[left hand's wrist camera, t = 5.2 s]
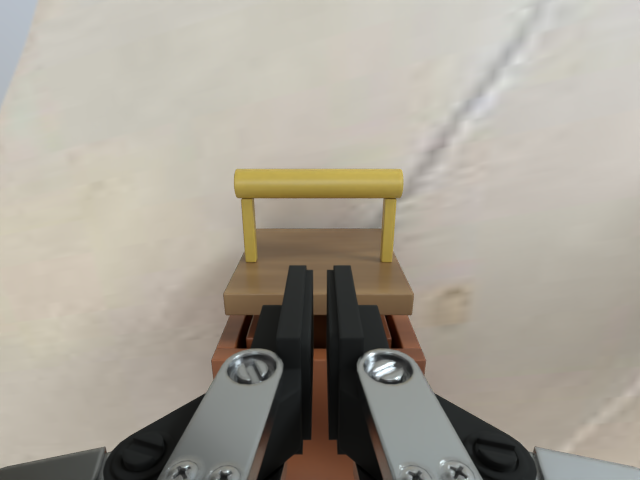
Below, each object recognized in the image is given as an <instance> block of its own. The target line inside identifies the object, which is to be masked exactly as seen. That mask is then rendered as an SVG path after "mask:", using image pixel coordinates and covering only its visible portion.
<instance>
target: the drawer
mask: <svg viewBox="0 0 640 480" xmlns="http://www.w3.org/2000/svg"><path fill="white" fill-rule="evenodd" d="M234 189H235V194H236V197H237V198H242V199H241V205H242V219H243V233H244V247H245V252H244V254H243V256H242V258H241V260H240V262H239V264H238V266H237V268H236V270H235V272H234V274H233V276H232V278H231V280H230V282H229V284H228V286H227V288H226V290H225V292H224V294H223V297H224V307H225V314H226V315H253V318H252V321H251V324H250V327H249V331H248V334H247V337H246V345H247V349H250V348H251V344H252V341H253V337H254V334H255V330H256V327H257V323H258V319H259V316H260V312H261V309H262V306H263V305H282V302H283V296H284V291H285V286H286V280H287V275H288V270H289V265H306V266H307V270H313V319H314V349H326V321H327V270H333V266H334V265H351V270H352V275H353V280H354V286H355V291H356V296H357V302H358V305H377V306H378V309H379V312H380V316H381V319H382V323H383V327H384V330H385V334H386V337H387V341H388V344H389V348H390V349H391V335H390V332H389V329H388V325H387V322H386V319H385V315H412V309H413V298H414V293H413V291H412V289H411V287H410V285H409V283H408V281H407V279H406V277H405V275H404V273H403V271H402V269H401V267H400V265H399V262H398V260H397V258H396V256H395V254H394V252H393V241H394V227H395V213H396V198H400V197H401V195H402V192H403V173H402V170H401V169H236V171H235V175H234ZM254 198H384V199H383V216H382V229H256V225H255V208H254Z"/></svg>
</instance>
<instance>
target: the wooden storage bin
mask: <svg viewBox="0 0 640 480" xmlns="http://www.w3.org/2000/svg"><path fill="white" fill-rule="evenodd" d="M252 318H253V315H230V317H229V319H228V321H227V324H226V326H225V328H224V331H223V333H222V336H221V338H220V340H219V343H218V345H217V348H216V350H215V353H214V355H213V357H212V360H211V363H212V371H213V380H214V378H215V377H216V375H217V373H218V371H219V369H220V368H221V366H222V364H223V363H224V362H225V361H226V359H228V358H229V357H230V356H232V355H233V354H235V353H238V352H240V351H243V350H247V345H246V337H247V334H248V331H249V327H250V324H251V321H252ZM385 319H386V322H387V325H388V329H389V332H390V335H391V349H393V350H397V351H400V352H402V353H405V354H407V355H408V356H410V357H411V358H412V359H414V361H415V362H416V363H417V364H418V366H419V368H420V369H421V371H422V373H423V375H424V373H425V365H426V359H425V357H424V354H423V352H422V349H421V347H420V345H419V342H418V340H417V337H416V335H415V332H414V330H413V328H412V325H411V323H410V320H409V318H408V315H385ZM285 480H355V479H354V475H353V460H352V459H351V458H349V457H348V456H347V455H337V440H329V435H328V396H327V356H326V349H314V357H313V396H312V436H311V440H303V455H293V456H292V457H291V458H289V459H288V460H287V475H286V479H285Z"/></svg>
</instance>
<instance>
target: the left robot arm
mask: <svg viewBox="0 0 640 480" xmlns="http://www.w3.org/2000/svg"><path fill="white" fill-rule="evenodd" d="M326 356H327V396H328V435H329V440H337V455H347V456H348V457H349V458H351V459H352V460H353V475H354V479H355V480H640V469H639V468H636V467H633V466H628V465H623V464H618V463H613V462H608V461H603V460H598V459H593V458H588V457H583V456H578V455H574V454H569V453H564V452H559V451H554V450H549V449H544V448H539V447H534V451H533V453H532V452H528V451H527V450H526V449H525V448H524V447H523V445H522V444H521V443H520V442H518V441H517V440H515V439H514V438H512V437H511V436H509V435H508V434H506V433H504V432H502V431H501V430H499V429H497V428H495V427H493V426H492V425H490V424H488V423H486V422H485V421H483V420H481V419H479V418H477V417H476V416H474V415H472V414H470V413H469V412H467V411H465V410H463V409H461V408H460V407H458V406H456V405H454V404H453V403H451V402H449V401H447V400H445V399H444V398H442V397H440V396H438V395H437V394H435V393H434V392H433V391H432V389H431V387H430V385H429V384H428V382H427V380H426V378H425V377H424V375H423V373H422V371H421V369H420V368H419V366H418V364H417V363H416V362H415V361H414V359H412V358H411V357H410V356H408V355H407V354H405V353H402V352H400V351H397V350H393V349H390V348H389V344H388V341H387V337H386V334H385V330H384V327H383V323H382V319H381V316H380V312H379V309H378V306H377V305H358V302H357V296H356V291H355V286H354V280H353V275H352V270H351V265H334V266H333V270H327V321H326ZM313 357H314V319H313V270H307V266H306V265H289V270H288V275H287V280H286V286H285V291H284V296H283V302H282V305H263V306H262V309H261V312H260V316H259V319H258V323H257V327H256V330H255V334H254V337H253V341H252V344H251V348H250V349H247V350H243V351H240V352H238V353H235V354H233V355H232V356H230V357H229V358H228V359H226V361H225V362H224V363H223V364H222V366H221V368H220V369H219V371H218V373H217V375H216V377H215V378H214V380H213V382H212V384H211V385H210V387H209V389H208V391H207V392H206V393H205V394H203V395H202V396H200V397H198V398H196V399H195V400H193V401H191V402H189V403H187V404H186V405H184V406H182V407H180V408H179V409H177V410H175V411H173V412H171V413H170V414H168V415H166V416H164V417H163V418H161V419H159V420H157V421H155V422H154V423H152V424H150V425H148V426H147V427H145V428H143V429H141V430H139V431H138V432H136V433H134V434H132V435H131V436H129V437H128V438H126V439H125V440H123V441H122V442H120V443H119V444H118V445H117V447H116V448H115V449H114V450H113V451H112V452H108V453H107V451H106V447H101V448H96V449H91V450H86V451H81V452H76V453H71V454H66V455H62V456H57V457H52V458H47V459H42V460H37V461H32V462H27V463H22V464H17V465H12V466H7V467H4V468H1V469H0V480H285V479H286V475H287V460H288V459H289V458H291V457H292V456H293V455H303V440H311V436H312V396H313Z"/></svg>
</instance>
